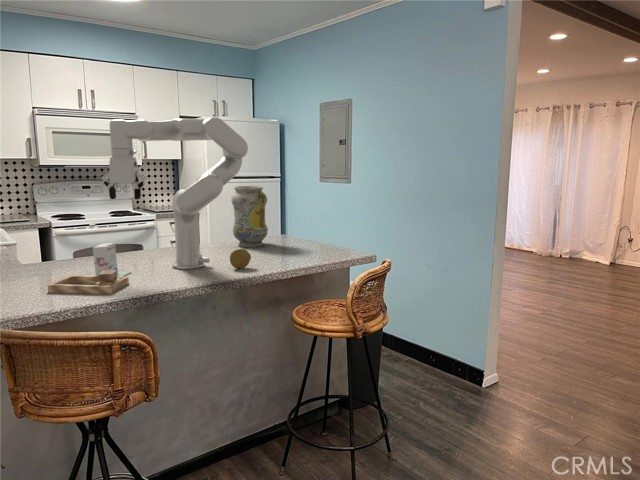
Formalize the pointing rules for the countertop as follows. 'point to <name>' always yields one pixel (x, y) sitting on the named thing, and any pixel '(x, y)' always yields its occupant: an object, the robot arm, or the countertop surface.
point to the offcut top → (107, 276)
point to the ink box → (105, 257)
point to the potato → (240, 258)
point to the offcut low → (107, 283)
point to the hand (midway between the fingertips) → (125, 198)
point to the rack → (65, 286)
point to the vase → (249, 215)
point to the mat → (119, 274)
